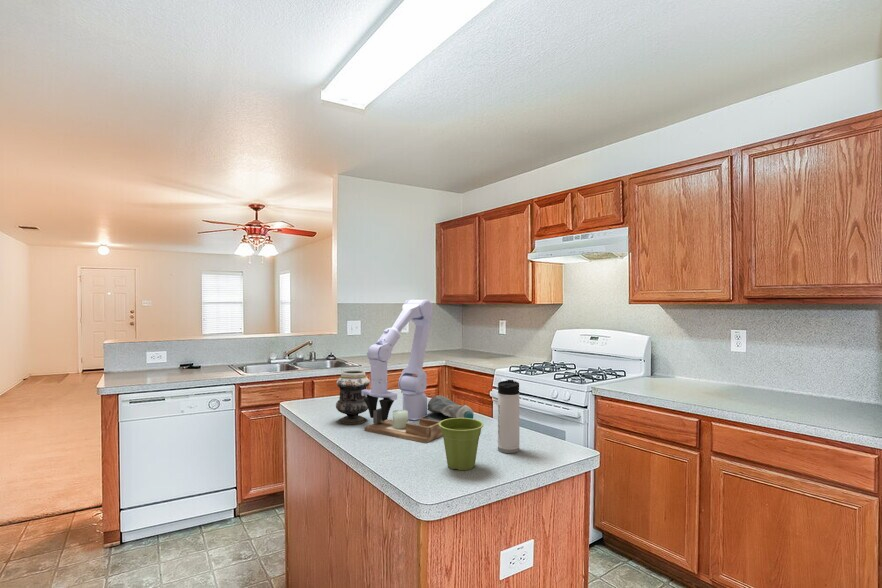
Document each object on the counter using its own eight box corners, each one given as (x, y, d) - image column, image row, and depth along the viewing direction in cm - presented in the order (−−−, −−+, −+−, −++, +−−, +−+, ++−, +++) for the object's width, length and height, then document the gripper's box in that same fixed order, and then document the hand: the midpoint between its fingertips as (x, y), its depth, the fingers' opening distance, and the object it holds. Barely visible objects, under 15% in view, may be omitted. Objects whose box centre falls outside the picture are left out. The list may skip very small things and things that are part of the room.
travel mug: (521, 447, 138) (521, 380, 138) (517, 454, 132) (517, 383, 132) (500, 445, 140) (500, 379, 140) (495, 452, 134) (495, 382, 134)
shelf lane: (387, 422, 166) (387, 410, 166) (446, 433, 152) (446, 420, 152) (364, 430, 156) (364, 418, 156) (425, 443, 142) (425, 429, 142)
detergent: (422, 413, 180) (451, 427, 157) (423, 394, 180) (453, 406, 158) (452, 412, 186) (485, 426, 163) (453, 394, 186) (486, 405, 164)
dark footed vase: (366, 425, 162) (366, 373, 162) (332, 425, 162) (332, 373, 162) (372, 416, 174) (372, 368, 174) (339, 416, 174) (340, 368, 175)
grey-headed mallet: (381, 420, 163) (381, 406, 163) (410, 426, 156) (410, 411, 156) (372, 423, 159) (372, 409, 159) (401, 429, 152) (401, 414, 152)
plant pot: (429, 466, 123) (429, 423, 123) (460, 455, 131) (460, 415, 131) (462, 478, 114) (462, 432, 114) (492, 466, 123) (492, 423, 123)
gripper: (355, 378, 161) (355, 418, 161) (387, 382, 153) (387, 424, 153) (369, 375, 167) (369, 413, 167) (401, 379, 159) (401, 419, 159)
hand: (378, 418), depth 160 cm, fingers open, 5 cm apart
